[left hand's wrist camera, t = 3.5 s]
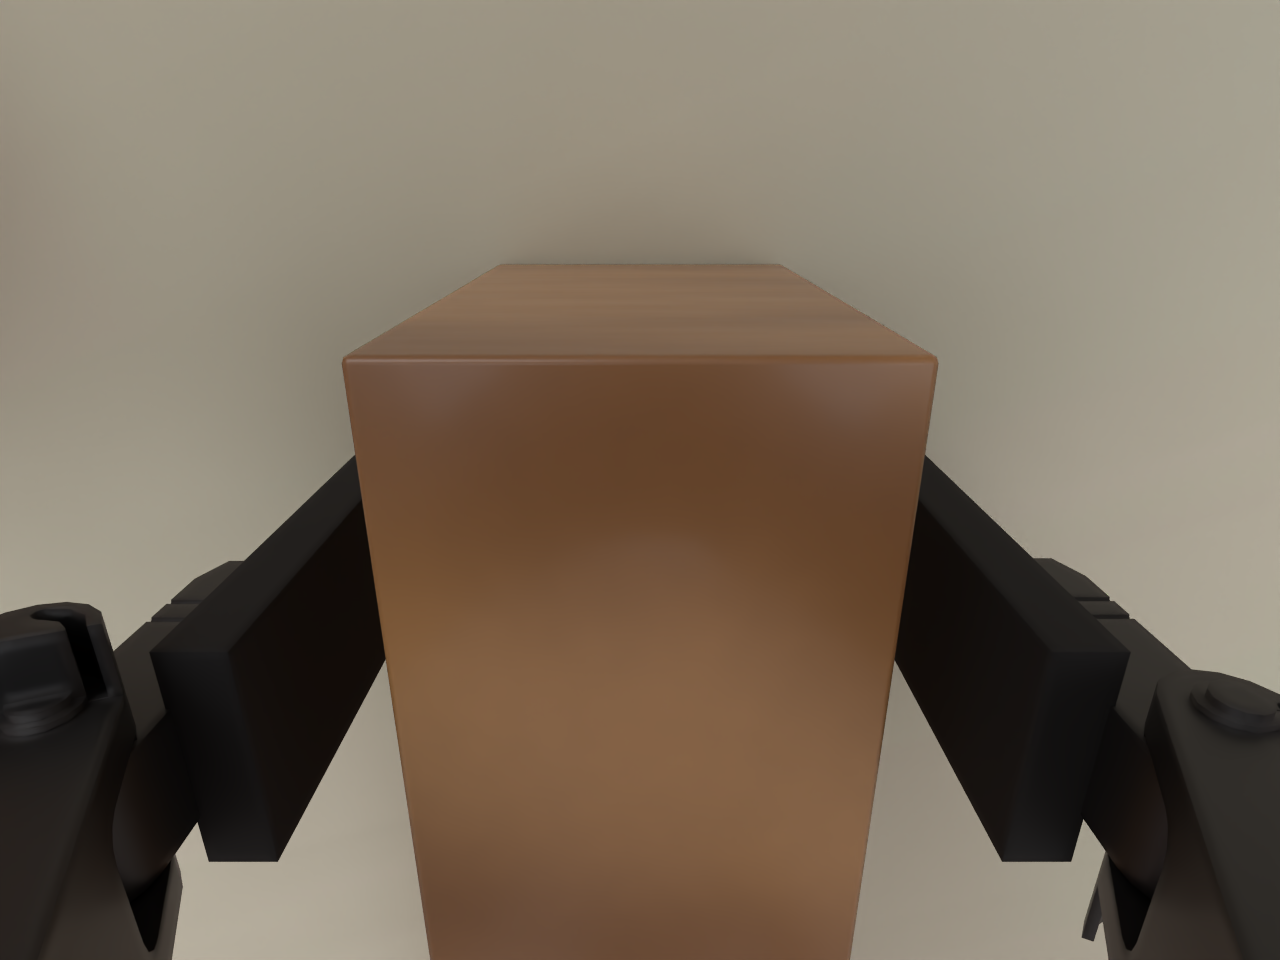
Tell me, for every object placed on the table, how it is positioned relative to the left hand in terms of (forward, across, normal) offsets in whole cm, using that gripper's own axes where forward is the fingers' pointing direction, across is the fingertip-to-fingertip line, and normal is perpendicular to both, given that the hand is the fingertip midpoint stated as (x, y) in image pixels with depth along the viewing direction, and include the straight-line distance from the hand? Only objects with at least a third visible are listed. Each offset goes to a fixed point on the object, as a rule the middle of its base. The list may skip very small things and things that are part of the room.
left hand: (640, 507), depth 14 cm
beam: (+1, 0, -28) cm, 28 cm away
